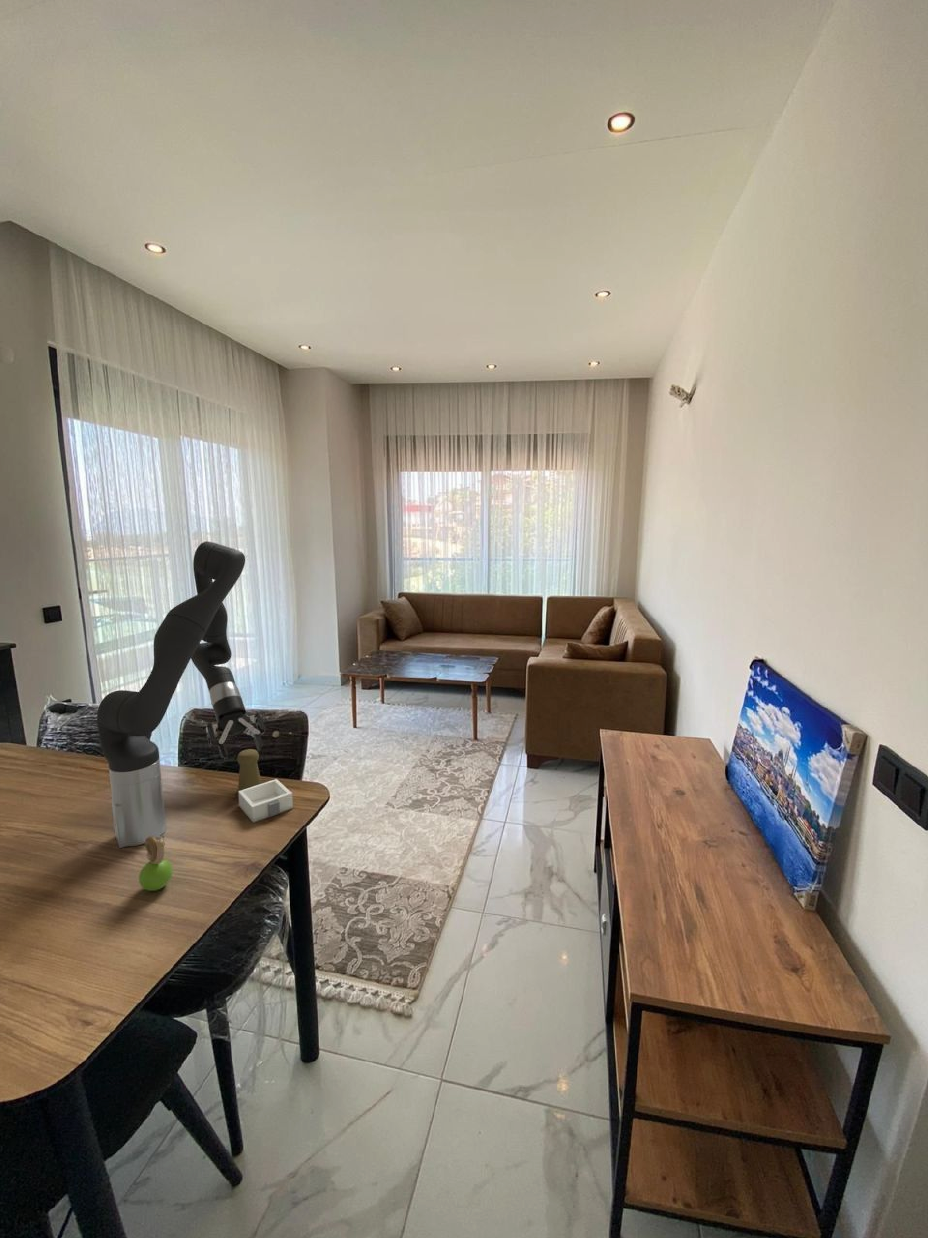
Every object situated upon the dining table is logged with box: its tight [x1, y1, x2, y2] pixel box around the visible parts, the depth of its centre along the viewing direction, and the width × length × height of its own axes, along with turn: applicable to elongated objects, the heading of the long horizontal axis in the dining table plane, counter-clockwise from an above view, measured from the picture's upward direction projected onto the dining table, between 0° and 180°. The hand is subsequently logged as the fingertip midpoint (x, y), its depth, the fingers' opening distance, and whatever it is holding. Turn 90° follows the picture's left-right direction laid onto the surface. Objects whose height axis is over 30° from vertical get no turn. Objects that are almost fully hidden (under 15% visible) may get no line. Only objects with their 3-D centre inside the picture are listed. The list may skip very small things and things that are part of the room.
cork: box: [237, 748, 262, 792], centre depth 128 cm, size 6×6×11 cm
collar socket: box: [237, 778, 294, 823], centre depth 121 cm, size 10×11×4 cm
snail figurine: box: [138, 834, 173, 892], centre depth 92 cm, size 5×6×12 cm
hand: (243, 753), depth 130 cm, fingers open, 8 cm apart
